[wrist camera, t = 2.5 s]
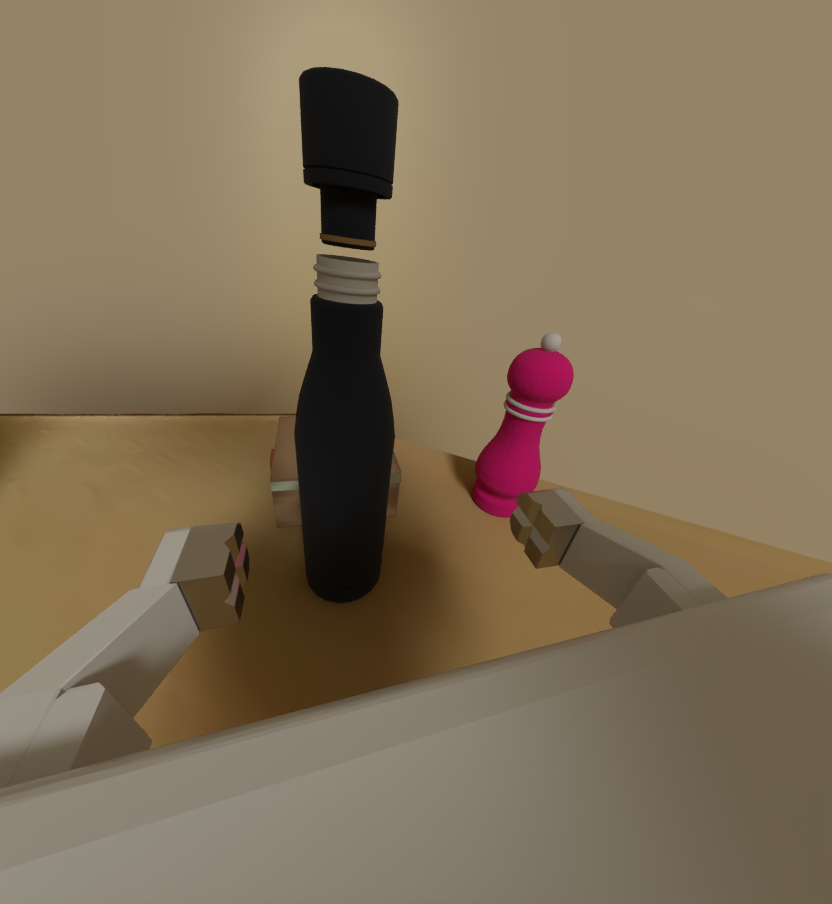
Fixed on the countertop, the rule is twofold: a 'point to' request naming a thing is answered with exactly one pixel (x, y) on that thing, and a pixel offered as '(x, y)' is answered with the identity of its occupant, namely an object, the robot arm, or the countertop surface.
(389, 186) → the black bottle
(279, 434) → the wooden box
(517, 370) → the pepper mill
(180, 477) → the countertop surface
